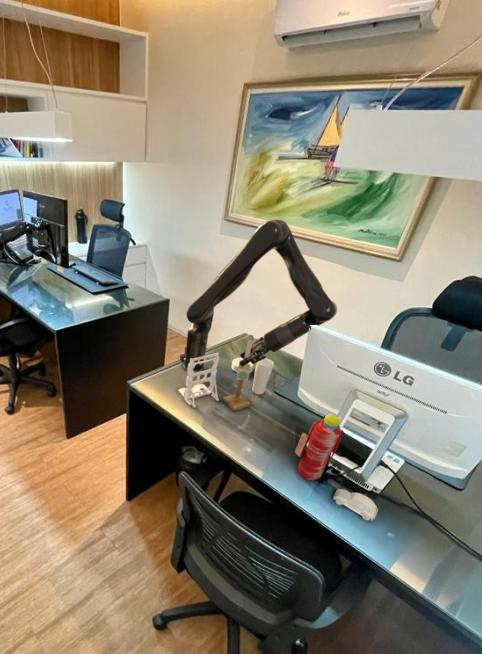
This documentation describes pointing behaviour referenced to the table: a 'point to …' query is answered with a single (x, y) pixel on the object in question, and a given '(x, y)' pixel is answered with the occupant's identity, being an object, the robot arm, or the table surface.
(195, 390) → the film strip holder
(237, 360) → the white ribbed cylinder
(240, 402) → the stand
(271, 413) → the table surface
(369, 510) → the car
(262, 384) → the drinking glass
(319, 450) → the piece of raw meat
